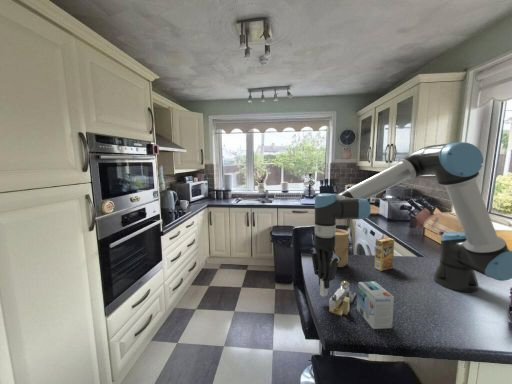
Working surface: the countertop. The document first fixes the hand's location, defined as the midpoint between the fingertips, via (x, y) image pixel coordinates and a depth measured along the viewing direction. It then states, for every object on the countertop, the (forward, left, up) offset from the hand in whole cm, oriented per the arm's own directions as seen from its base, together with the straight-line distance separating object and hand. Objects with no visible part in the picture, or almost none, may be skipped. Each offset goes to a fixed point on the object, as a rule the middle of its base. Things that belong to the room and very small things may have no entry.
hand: (323, 294), depth 88 cm
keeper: (-6, 0, -3) cm, 6 cm away
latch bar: (-5, -3, -2) cm, 6 cm away
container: (+6, -39, -3) cm, 39 cm away
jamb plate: (-6, -9, -3) cm, 11 cm away
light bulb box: (-17, -1, -3) cm, 18 cm away
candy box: (-16, -48, -3) cm, 50 cm away
